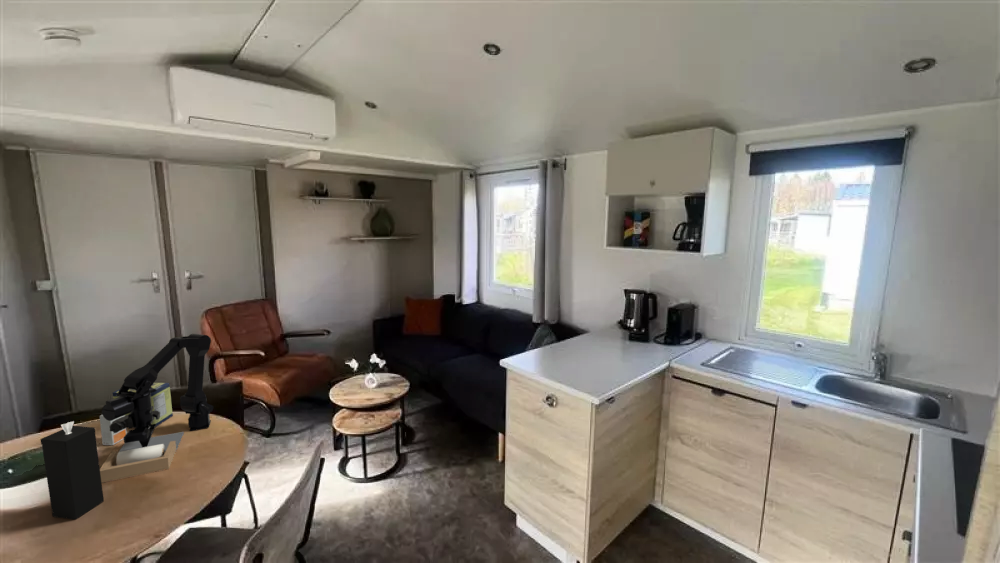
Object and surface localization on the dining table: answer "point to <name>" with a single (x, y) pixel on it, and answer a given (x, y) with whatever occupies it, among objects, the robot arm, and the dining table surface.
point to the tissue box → (72, 471)
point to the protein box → (158, 401)
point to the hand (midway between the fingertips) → (145, 447)
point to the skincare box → (110, 432)
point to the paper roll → (140, 454)
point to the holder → (116, 472)
